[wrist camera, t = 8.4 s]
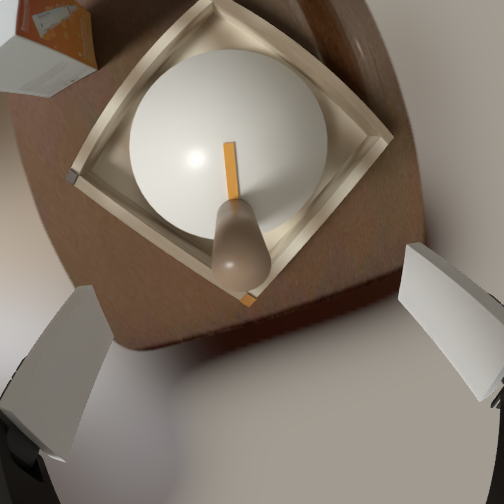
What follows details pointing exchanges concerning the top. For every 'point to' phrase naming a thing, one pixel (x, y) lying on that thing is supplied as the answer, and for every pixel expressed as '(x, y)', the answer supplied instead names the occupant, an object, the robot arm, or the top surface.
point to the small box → (44, 46)
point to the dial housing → (211, 39)
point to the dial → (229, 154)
